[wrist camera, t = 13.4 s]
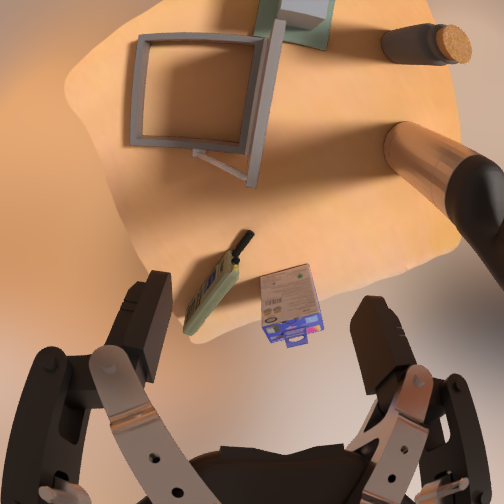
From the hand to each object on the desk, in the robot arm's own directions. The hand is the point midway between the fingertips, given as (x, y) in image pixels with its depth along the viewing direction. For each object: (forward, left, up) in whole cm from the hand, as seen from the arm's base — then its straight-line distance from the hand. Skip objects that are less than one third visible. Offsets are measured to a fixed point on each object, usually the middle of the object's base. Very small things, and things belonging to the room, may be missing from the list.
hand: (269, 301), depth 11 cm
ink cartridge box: (-10, +26, -32) cm, 43 cm away
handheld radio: (+3, +27, -33) cm, 43 cm away
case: (+10, -6, -32) cm, 34 cm away
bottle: (-18, -20, -32) cm, 42 cm away
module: (-2, -21, -31) cm, 38 cm away
